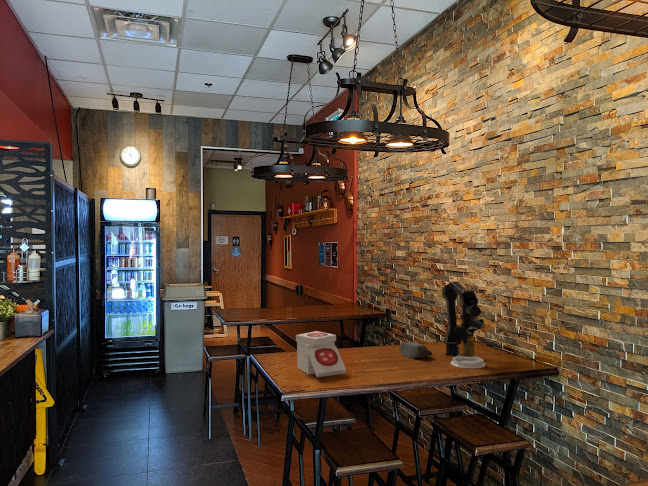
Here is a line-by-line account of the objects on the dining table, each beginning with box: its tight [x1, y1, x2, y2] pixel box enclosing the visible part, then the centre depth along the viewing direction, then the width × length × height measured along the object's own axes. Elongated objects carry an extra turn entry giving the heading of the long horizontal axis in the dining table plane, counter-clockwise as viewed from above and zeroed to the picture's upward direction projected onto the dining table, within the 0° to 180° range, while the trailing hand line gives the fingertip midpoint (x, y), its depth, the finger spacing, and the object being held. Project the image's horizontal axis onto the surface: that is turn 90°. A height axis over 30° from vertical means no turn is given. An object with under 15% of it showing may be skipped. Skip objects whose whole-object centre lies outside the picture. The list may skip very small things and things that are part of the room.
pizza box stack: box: [295, 330, 347, 378], centre depth 252 cm, size 19×30×18 cm, turn 24°
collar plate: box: [450, 355, 487, 370], centre depth 264 cm, size 18×18×2 cm
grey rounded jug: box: [399, 341, 433, 360], centre depth 282 cm, size 18×11×8 cm, turn 32°
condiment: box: [457, 333, 479, 358], centre depth 263 cm, size 7×8×12 cm
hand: (467, 343), depth 264 cm, fingers closed on condiment, 6 cm apart
